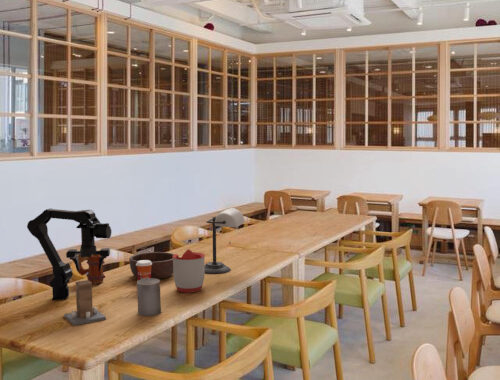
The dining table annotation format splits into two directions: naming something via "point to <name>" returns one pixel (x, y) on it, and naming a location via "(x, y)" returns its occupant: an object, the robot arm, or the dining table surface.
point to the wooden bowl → (154, 264)
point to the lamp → (223, 219)
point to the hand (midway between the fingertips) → (89, 271)
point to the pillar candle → (148, 296)
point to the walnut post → (84, 298)
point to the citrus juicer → (188, 271)
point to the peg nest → (76, 320)
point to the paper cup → (144, 269)
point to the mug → (92, 269)
